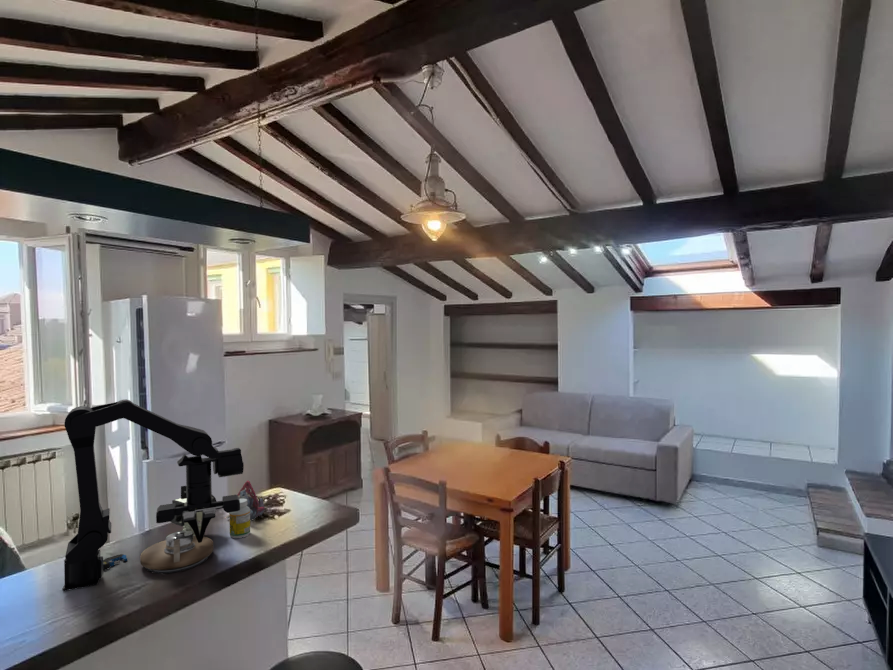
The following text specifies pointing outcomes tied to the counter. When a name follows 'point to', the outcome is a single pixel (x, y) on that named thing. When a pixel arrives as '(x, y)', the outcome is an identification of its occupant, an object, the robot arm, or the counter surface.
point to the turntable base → (177, 568)
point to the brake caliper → (251, 501)
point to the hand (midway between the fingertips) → (200, 541)
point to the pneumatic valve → (179, 518)
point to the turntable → (175, 555)
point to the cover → (185, 542)
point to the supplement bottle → (240, 521)
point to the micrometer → (110, 560)
